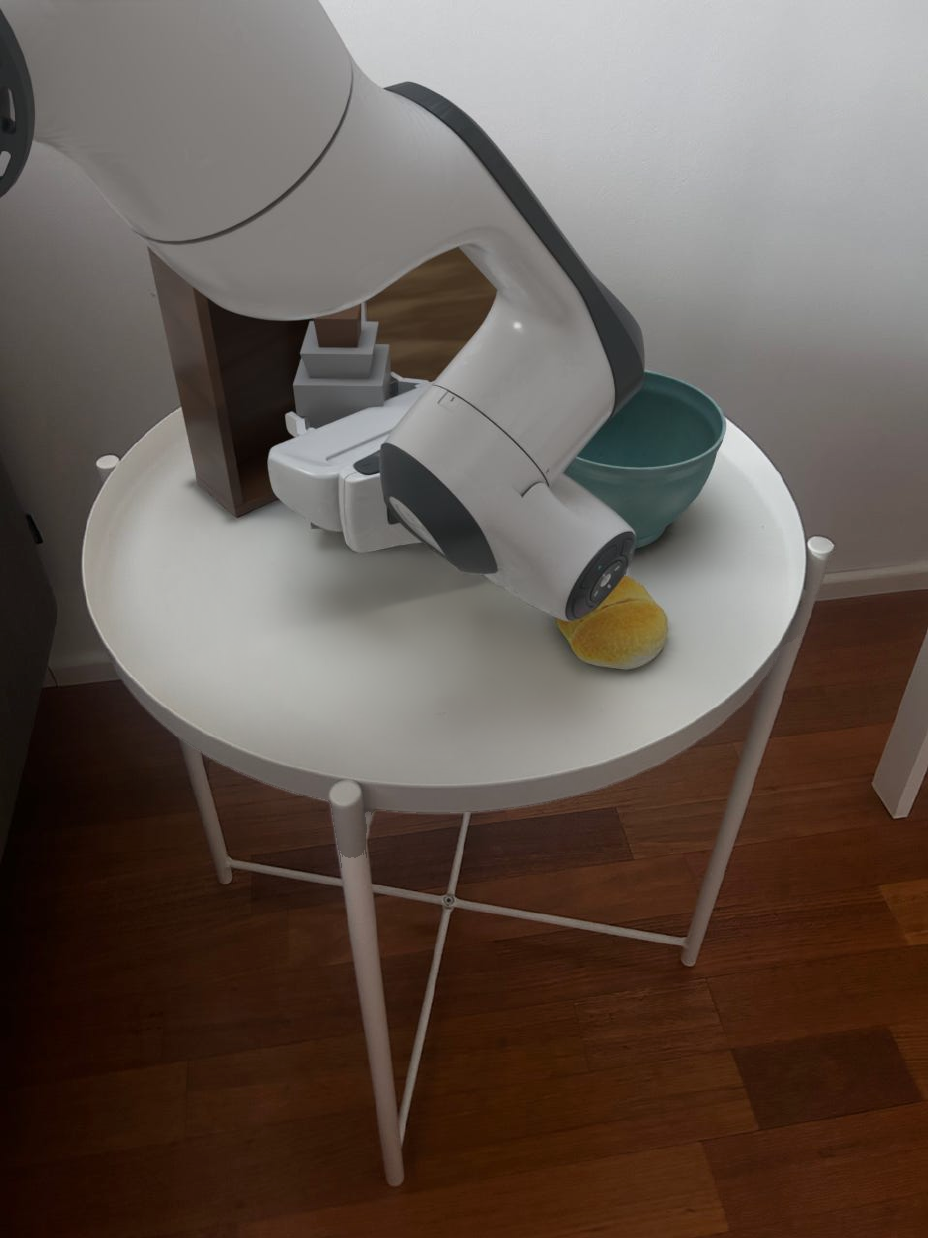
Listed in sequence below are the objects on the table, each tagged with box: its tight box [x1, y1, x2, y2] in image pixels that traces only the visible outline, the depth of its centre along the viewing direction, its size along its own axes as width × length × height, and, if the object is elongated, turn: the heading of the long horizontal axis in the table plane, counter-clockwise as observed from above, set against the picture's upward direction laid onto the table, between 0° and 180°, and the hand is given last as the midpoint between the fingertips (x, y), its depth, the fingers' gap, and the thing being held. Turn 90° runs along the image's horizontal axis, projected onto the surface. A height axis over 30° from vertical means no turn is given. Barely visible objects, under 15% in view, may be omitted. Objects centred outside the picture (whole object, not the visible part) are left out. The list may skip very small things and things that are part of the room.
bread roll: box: [555, 575, 669, 671], centre depth 78 cm, size 8×9×4 cm
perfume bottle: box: [293, 303, 391, 530], centre depth 82 cm, size 7×7×18 cm
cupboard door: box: [363, 247, 497, 382], centre depth 93 cm, size 6×15×23 cm, turn 110°
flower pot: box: [563, 369, 727, 550], centre depth 86 cm, size 16×16×11 cm
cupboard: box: [146, 245, 314, 518], centre depth 88 cm, size 7×15×23 cm, turn 130°
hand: (339, 400), depth 81 cm, fingers closed on perfume bottle, 7 cm apart
